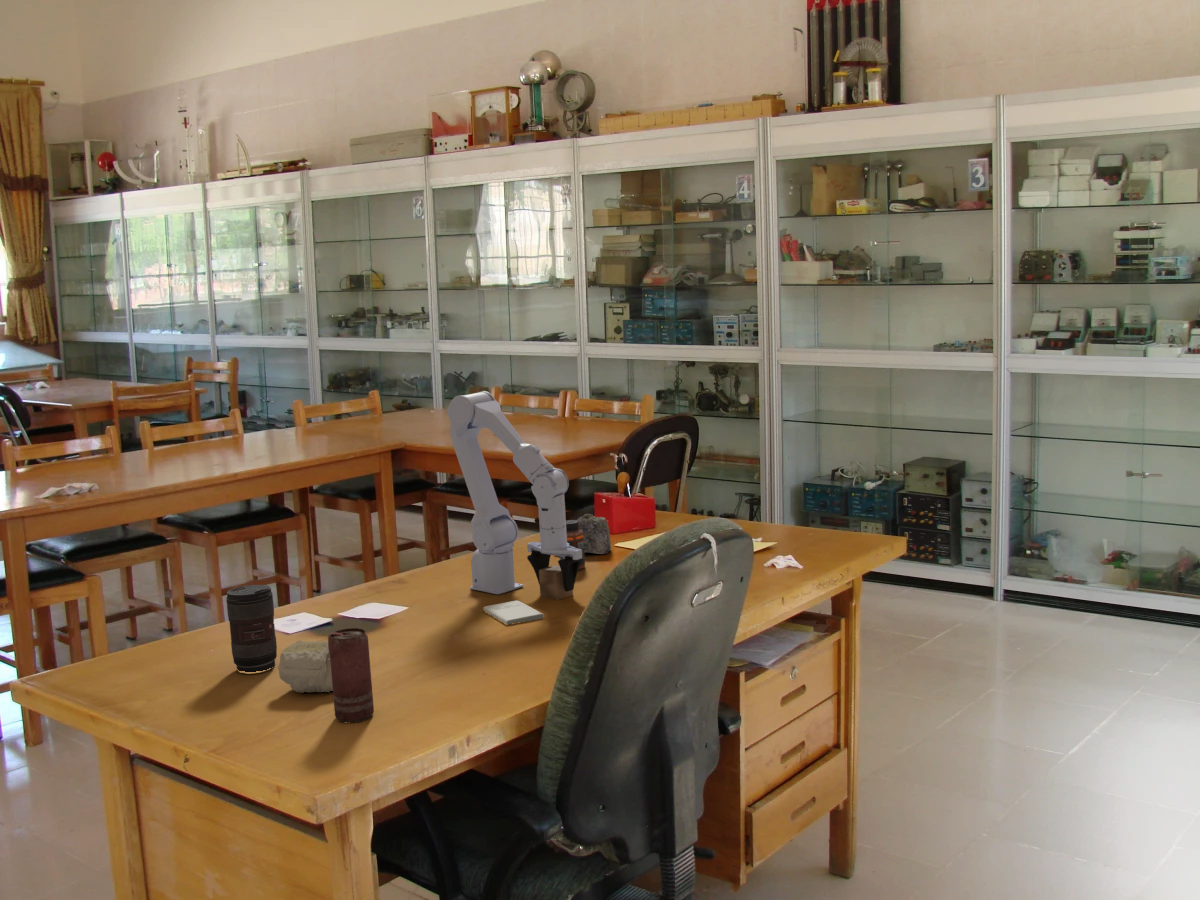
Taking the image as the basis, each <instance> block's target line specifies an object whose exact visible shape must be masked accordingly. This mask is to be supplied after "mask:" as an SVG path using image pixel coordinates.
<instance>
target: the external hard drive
mask: <svg viewBox="0 0 1200 900" xmlns="http://www.w3.org/2000/svg"><path fill="white" fill-rule="evenodd" d="M482 610H483V612H484V611H485V612H484V613H486V612H487V613H489V614H490V615H489V614H488V615H489V616H491V615H492V616H494V617H496V618H497V619H499V620H501V621H502V622H504V623H506V624H512V623H517V624H519V623H518V622H522V623H525V622H524V621H527V622H533V621H537V620H541V619H542V620H543V619H544V617H545V616H544V613H542V612H540V611H538V610H537V609H535V608H533V607H531V606H529V605H528V604H525V603H523V602H522V601H520V600H511V601H507V602H502V603H497V604H496V603H495V604H492V605H491V604H490V605H486V606H483V609H482ZM487 613H486V614H487ZM492 616H491V617H492ZM494 617H493V618H494ZM497 619H496V620H497ZM499 620H498V621H499ZM532 620H533V621H532ZM502 622H501V623H502ZM512 625H513V624H512Z"/></svg>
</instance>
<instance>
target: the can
mask: <svg viewBox="0 0 1200 900" xmlns="http://www.w3.org/2000/svg"><path fill="white" fill-rule="evenodd" d="M327 641H328V648H329V653H330V663H331V675H332V686H333V692H332V694H333V695H332V696H333V707H334V708H333V709H334V716H335V718H336V719H337V721H338V720H339V722H340V721H342V722H341V723H343V722H347V723H346V724H352V723H351V722H357V723H360V722H359V721H362V722H364V721H363V720H365V721H367V720H369V719H370V718H371V717H372V716H373V715H374V712H375V710H374V709H375V708H374V707H375V705H374V695H373V694H374V693H373V683H372V670H371V660H370V659H371V658H370V657H371V656H370V647H369V645H370V644H369V636H368V635H367V633H366V630H365V629H362V628H357V627H353V628H352V627H351V628H343V629H339V630H335V631H334V632H331V633H329V634H328V637H327ZM368 718H369V719H368ZM366 719H367V720H366ZM348 722H350V723H348Z"/></svg>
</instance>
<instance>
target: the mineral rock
mask: <svg viewBox="0 0 1200 900" xmlns="http://www.w3.org/2000/svg"><path fill="white" fill-rule="evenodd" d="M576 519H577V520H576V521H578V525H579V526H578V528H579V529H580V530H582V532H583V539H584V555H586V554H597V555H603V554H604V555H607V554H609V551H610V552H611V550H612V544H611V543H612V542H611V534H610V528H609V524H608V521H607V519H606V517H603V516H600V517H599V516H595V515H593V513H585V514H583V516H580V517H578V518H576ZM606 553H607V554H606Z"/></svg>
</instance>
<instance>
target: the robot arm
mask: <svg viewBox="0 0 1200 900" xmlns="http://www.w3.org/2000/svg"><path fill="white" fill-rule="evenodd" d="M501 408H502V407H501V404H500V403H499V402H498V401H497V400H496V399H495V397H494V395H492V393H490V392H489V391H487V390H486V391H485V390H482V391H479V392H474V393H470V394H464V395H461V394H460V395H456V396H454V398H452V399H451V401H450V402H449V405H448V407H447V409H446V413H447V416H448V419H449V422H450V423H449V424H450V425H449V427H450V428H449V429H450V431H449V432H450V439H451V443H452V445H453V448H454V451H455V455H456V458H457V460H458V461H457V462H458V464H459V467H460V469H461V472H462V476H463V478H464V481H465V484H466V488H467V489H468V494H469V497H470V499H471V502H472V505H473V508H474V511H475V513H474V514H473V517H472V519H471V521H470V525H471V528H472V542H473V544H474V547H476V550H474V552H472V553H473V554H472V556H471V560H470V565H471V568H470V569H471V579H472V585H471V586H470V587H469V589H470V590H475V591H479V592H484V593H489V594H493V595H502V594H505V593H507V592H511V591H514V590H517V589H520V588H523V587H524V584H523V583H522V584H521V583H518V582H516V579H515V566H514V565H515V563H514V549H513V548H514V547H515V544H514V543H515V542H516V540H517V539H518V536H519V527H518V525H517V523H516V521H515V520H514V518H512V516H511V514H510V511H509V509H508V508H506V507H505V506H503V505H502V504H500V502H499V499H498V496H497V493H496V490H495V487H494V485H493V481H492V478H491V475H490V473H489V470H488V466H487V464H486V460H485V458H484V454H483V452H482V451H483V450H482V449H481V445H480V443H479V440H478V436H479V434H480V433H481V429H482V428H484V429H488V430H490V431H491V432H492V433H493V435H494V436H496V437H497V438H498V439H499V441H500V442H502V444H503V445H504V446H505V447H506V448H507V449H508V450H509V451H510V452H511V453H512V461H513V463H514V464H515V466H516V467H517V468H518V469H519V470H520V471H521V473H522V474H523V475H524V476H525V477H526V479H527V480H528V481H529V482H530V483H531V484H532V485H531V486H530V487H531V491H532V494H533V496H534V497H535V499H536V505H537V508H538V509H537V510H538V520H539V521H538V522H539V539H540V541H532V542H531V541H530V542H528V543H527V544H526V545H527V546H526V547H527V553H530V555H527V556H526V557H527V558H526V559H527V561H528V562H529V564H530V565H531V567H532V569H533V571H534V574H535V576H536V578H537V582H538V585H539V586H540V581H539V570H541V569H544V568H547V567H550V562H551V561H550V560H551V556H556V557H560V556H561V557H565V559H562V560H560V559H559V560H557V562H558V566H560V568H561V571H562V575H563V583H564V589H565V591H567V592H568V591H571V590H575V589H574V588H575V584H576V578H577V575H578V572H579V570H578V569H579V567H580V565H581V563H582V561H583V558H582V549H577V548H574V547H572V546H569V543H567V534H566V521H567V519H566V502H565V493H567V491H568V489H569V486H570V483H569V478H568V475H567V474H566V473H565V470H562V469H561V468H556V467H554V465H553V464H552V463H550V461H548V459H546V457H545V456H544V455H543V454H542V453H541V452H540V451H541V449H540V448H539V446H538V445H534V444H532V443H526V442H525V441H524V440H523V438H522V437H521V435H520V434H519V433H518V432H517V430H516V429H515V428H514V426H513V425H512V423H511V422H510V421H509V419H508V418H507V417H506V416H505V414H504V413H503V411H502V409H501Z"/></svg>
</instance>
